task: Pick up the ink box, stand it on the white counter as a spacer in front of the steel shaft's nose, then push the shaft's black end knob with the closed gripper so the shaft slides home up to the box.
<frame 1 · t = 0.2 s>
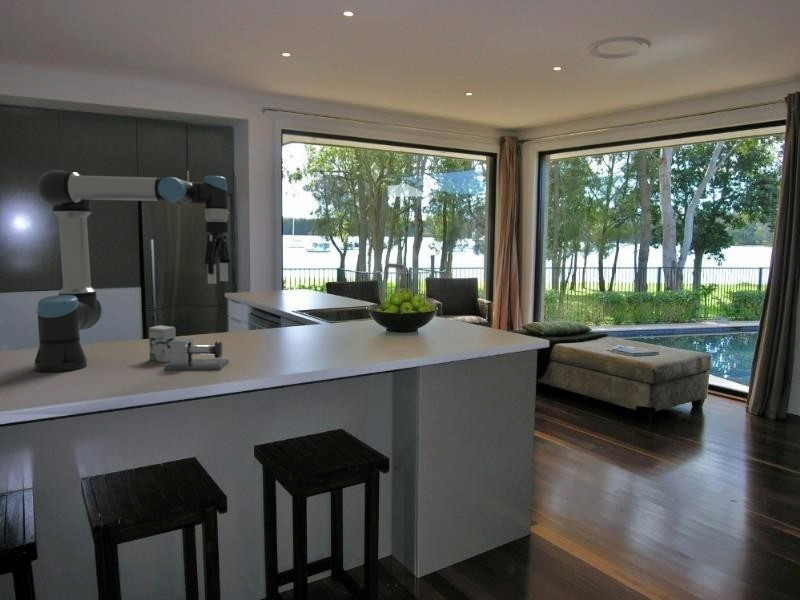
hand: (218, 282, 211), 27 cm above the table, fingers open, 13 cm apart
ink box: (163, 360, 212), on the table
rail: (182, 366, 201), on the table
shaft: (195, 349, 201), point 6 cm above the table, slide at 0.0 cm
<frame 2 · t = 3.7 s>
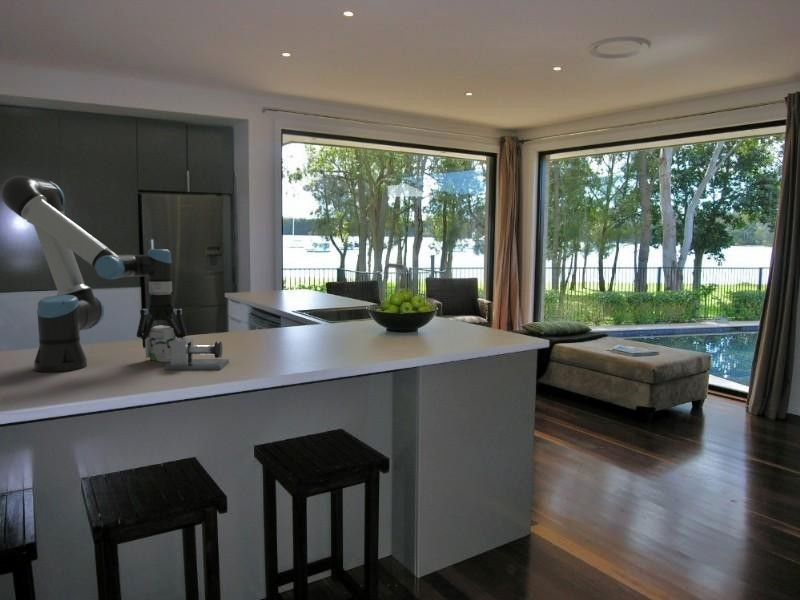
hand: (163, 356, 211), 1 cm above the table, fingers closed on ink box, 9 cm apart
ink box: (163, 360, 212), on the table, touching gripper
everything else where it was.
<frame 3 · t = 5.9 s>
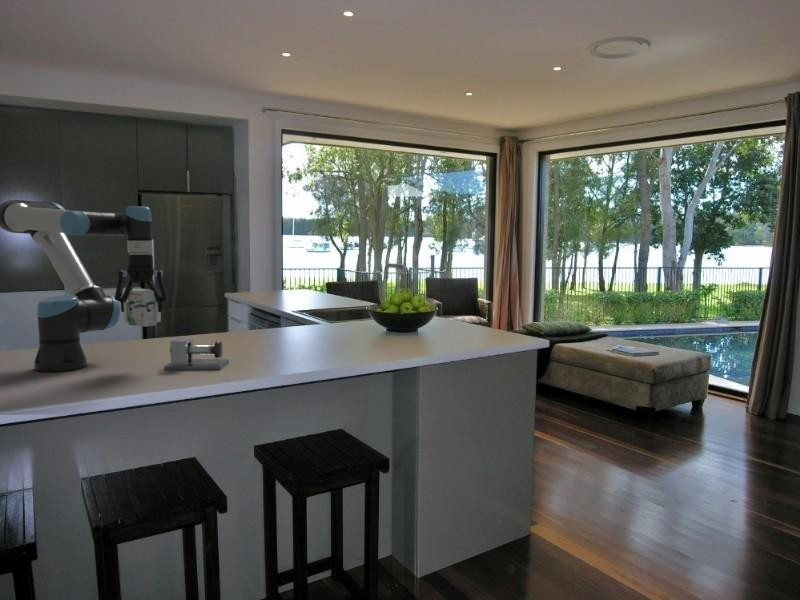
hand: (142, 321, 199), 15 cm above the table, fingers closed on ink box, 9 cm apart
ink box: (142, 325, 199), point 14 cm above the table, touching gripper
everything else where it was.
when the fingers open (3 cm above the table, at t = 8.6 s): ink box drops 1 cm, on the table.
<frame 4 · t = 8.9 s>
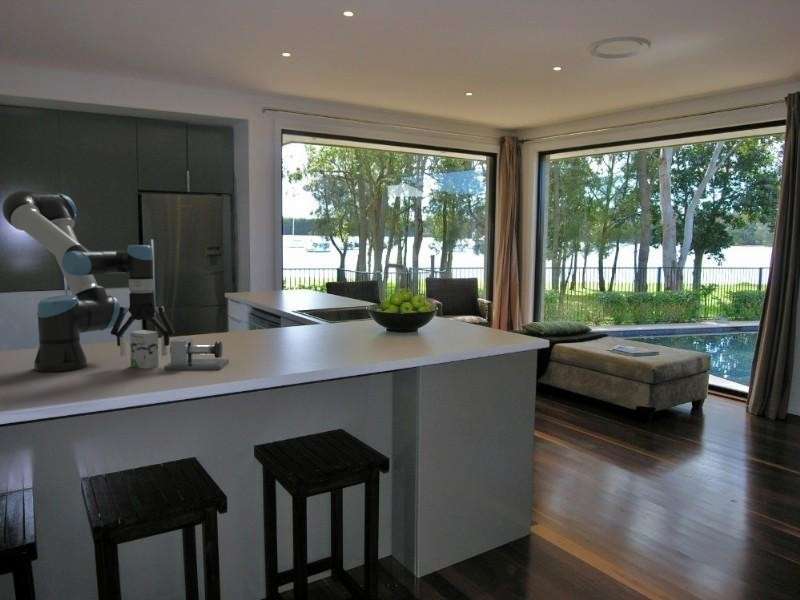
hand: (143, 355, 200), 4 cm above the table, fingers open, 13 cm apart
ink box: (144, 367, 201), on the table
everything else where it was.
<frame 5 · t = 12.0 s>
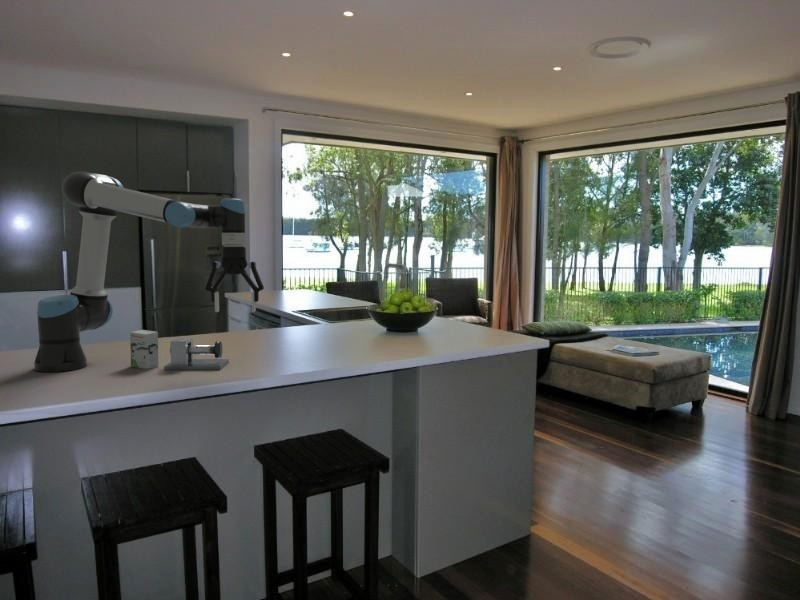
hand: (235, 311, 200), 18 cm above the table, fingers open, 11 cm apart
nothing on the table moved.
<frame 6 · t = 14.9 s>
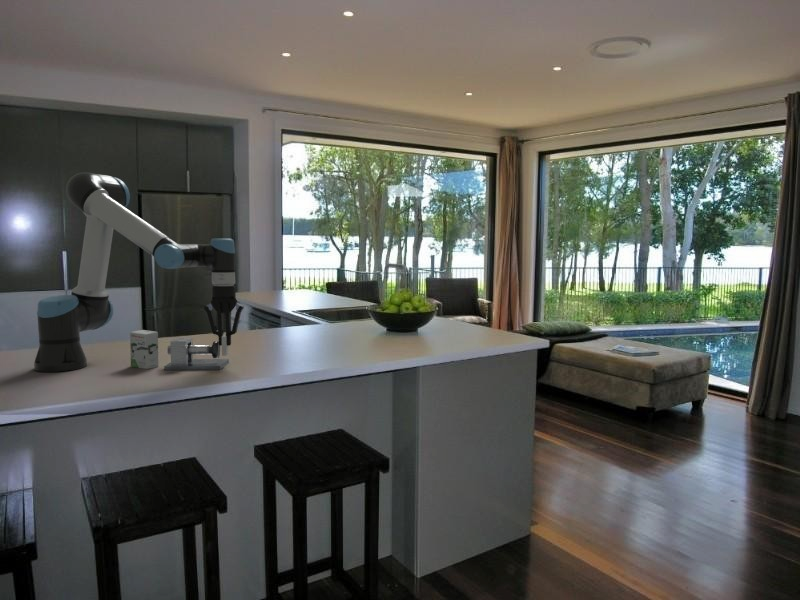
hand: (225, 355, 202), 4 cm above the table, fingers closed
shaft: (193, 349, 201), point 6 cm above the table, slide at 0.8 cm, touching gripper
everything else where it was.
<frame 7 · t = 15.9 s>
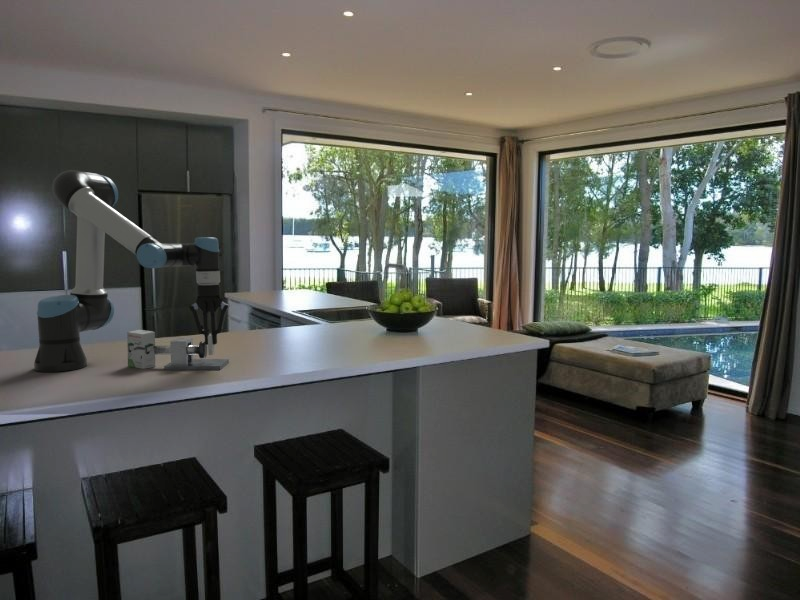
hand: (211, 354, 201), 4 cm above the table, fingers closed
ink box: (142, 367, 201), on the table, touching shaft
shaft: (180, 349, 201), point 6 cm above the table, slide at 5.1 cm, touching gripper, ink box
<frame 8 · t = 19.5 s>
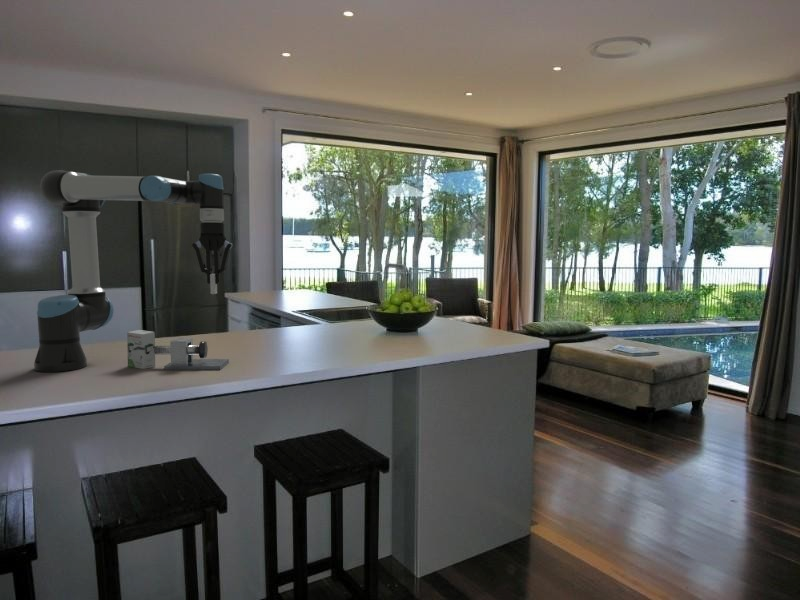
hand: (213, 293, 199), 24 cm above the table, fingers closed
ink box: (141, 367, 201), on the table
shaft: (180, 349, 201), point 5 cm above the table, slide at 5.0 cm
at the end: shaft slide at 5.0 cm; ink box inside the target area on the rail (0.6 cm from its centre), point 0.0 cm above the rail's base; ink box tilted 0° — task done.
